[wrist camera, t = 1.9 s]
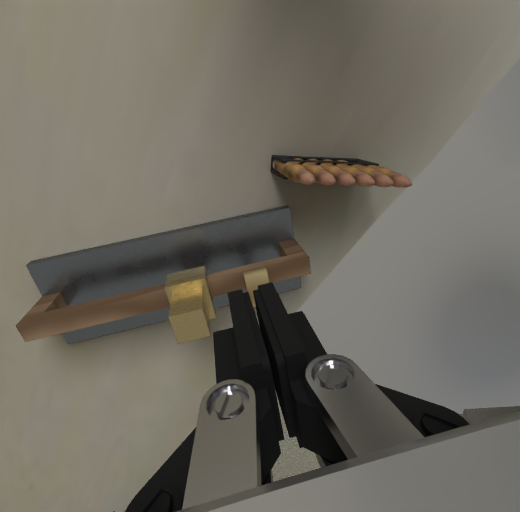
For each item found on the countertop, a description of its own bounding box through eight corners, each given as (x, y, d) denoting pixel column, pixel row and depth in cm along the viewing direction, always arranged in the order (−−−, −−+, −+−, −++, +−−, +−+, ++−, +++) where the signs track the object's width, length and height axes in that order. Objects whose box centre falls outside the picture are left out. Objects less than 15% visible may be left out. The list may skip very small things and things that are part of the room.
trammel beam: (42, 296, 36) (10, 331, 30) (294, 238, 39) (312, 260, 33) (57, 325, 38) (30, 364, 32) (298, 268, 40) (315, 294, 34)
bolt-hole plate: (31, 261, 35) (25, 265, 34) (287, 205, 38) (290, 207, 37) (71, 338, 40) (67, 344, 39) (298, 283, 43) (300, 287, 42)
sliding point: (170, 260, 37) (159, 309, 27) (204, 252, 37) (205, 298, 27) (182, 297, 39) (176, 355, 29) (214, 289, 39) (218, 344, 29)
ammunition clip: (359, 158, 38) (423, 173, 27) (356, 174, 38) (418, 195, 27) (271, 155, 36) (303, 169, 25) (270, 172, 36) (300, 192, 26)
